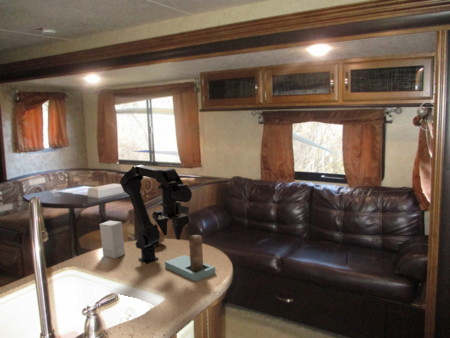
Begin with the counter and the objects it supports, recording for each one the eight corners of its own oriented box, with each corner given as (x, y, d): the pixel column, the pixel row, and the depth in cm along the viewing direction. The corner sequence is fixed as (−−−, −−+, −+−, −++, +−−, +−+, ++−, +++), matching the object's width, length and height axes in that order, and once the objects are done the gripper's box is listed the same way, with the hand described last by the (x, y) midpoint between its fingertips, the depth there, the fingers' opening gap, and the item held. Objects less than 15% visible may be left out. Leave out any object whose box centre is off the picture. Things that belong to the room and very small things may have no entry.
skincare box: (125, 254, 165) (123, 221, 163) (114, 259, 159) (111, 225, 157) (113, 251, 169) (110, 219, 167) (101, 256, 164) (99, 223, 162)
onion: (155, 240, 183) (154, 221, 182) (169, 243, 178) (168, 223, 177) (142, 246, 175) (140, 226, 174) (157, 249, 170) (155, 229, 169)
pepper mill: (188, 275, 140) (186, 238, 138) (195, 270, 144) (193, 234, 142) (199, 277, 138) (197, 239, 136) (205, 272, 142) (204, 235, 140)
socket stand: (165, 267, 148) (164, 261, 148) (184, 260, 155) (184, 254, 155) (195, 281, 134) (195, 275, 133) (215, 273, 141) (215, 267, 140)
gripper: (199, 199, 142) (201, 237, 144) (172, 194, 156) (174, 228, 158) (176, 204, 135) (179, 244, 137) (150, 198, 149) (153, 235, 150)
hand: (171, 237), depth 146 cm, fingers open, 9 cm apart
